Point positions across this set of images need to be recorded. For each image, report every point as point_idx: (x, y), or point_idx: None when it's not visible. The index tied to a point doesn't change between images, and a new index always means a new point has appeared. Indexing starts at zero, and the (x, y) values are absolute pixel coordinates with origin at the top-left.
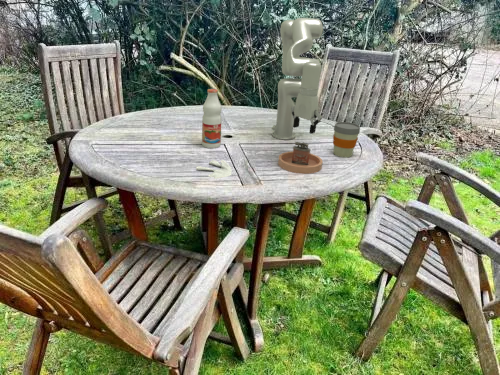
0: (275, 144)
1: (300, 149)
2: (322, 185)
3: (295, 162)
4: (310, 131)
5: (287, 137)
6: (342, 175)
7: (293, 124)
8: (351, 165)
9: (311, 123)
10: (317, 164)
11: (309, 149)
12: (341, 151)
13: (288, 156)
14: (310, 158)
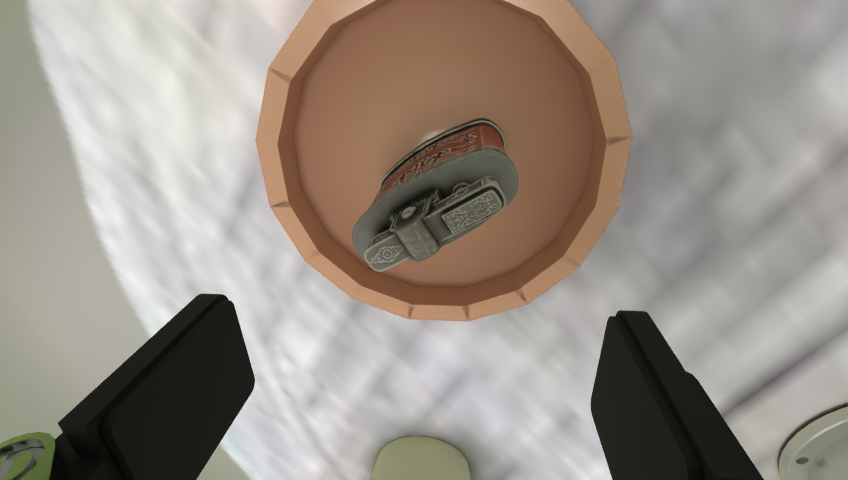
0: (839, 314)
1: (415, 177)
2: (73, 8)
3: (453, 128)
4: (180, 315)
5: (822, 444)
6: (186, 256)
7: (668, 347)
8: (285, 392)
9: (42, 470)
10: (285, 198)
11: (363, 244)
12: (393, 466)
13: (586, 187)
14: (457, 288)
